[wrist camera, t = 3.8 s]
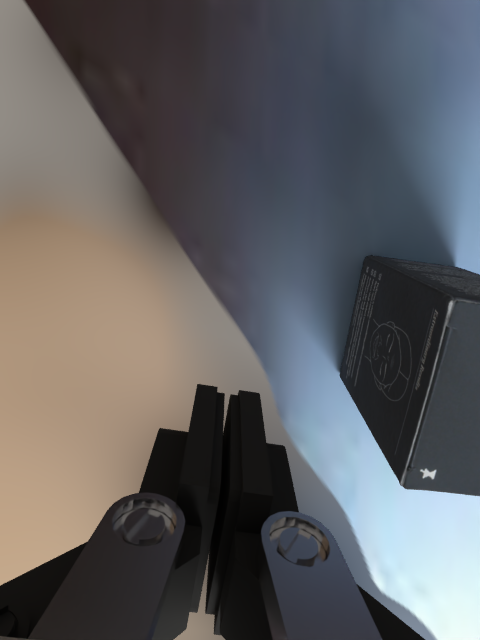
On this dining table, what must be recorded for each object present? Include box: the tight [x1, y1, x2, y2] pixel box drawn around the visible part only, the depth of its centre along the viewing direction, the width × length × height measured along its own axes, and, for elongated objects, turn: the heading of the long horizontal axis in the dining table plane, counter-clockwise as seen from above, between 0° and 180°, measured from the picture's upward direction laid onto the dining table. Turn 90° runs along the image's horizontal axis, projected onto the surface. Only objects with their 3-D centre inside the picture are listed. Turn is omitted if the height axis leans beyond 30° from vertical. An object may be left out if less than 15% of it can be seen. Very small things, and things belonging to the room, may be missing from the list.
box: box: [340, 255, 480, 496], centre depth 20 cm, size 8×6×11 cm
